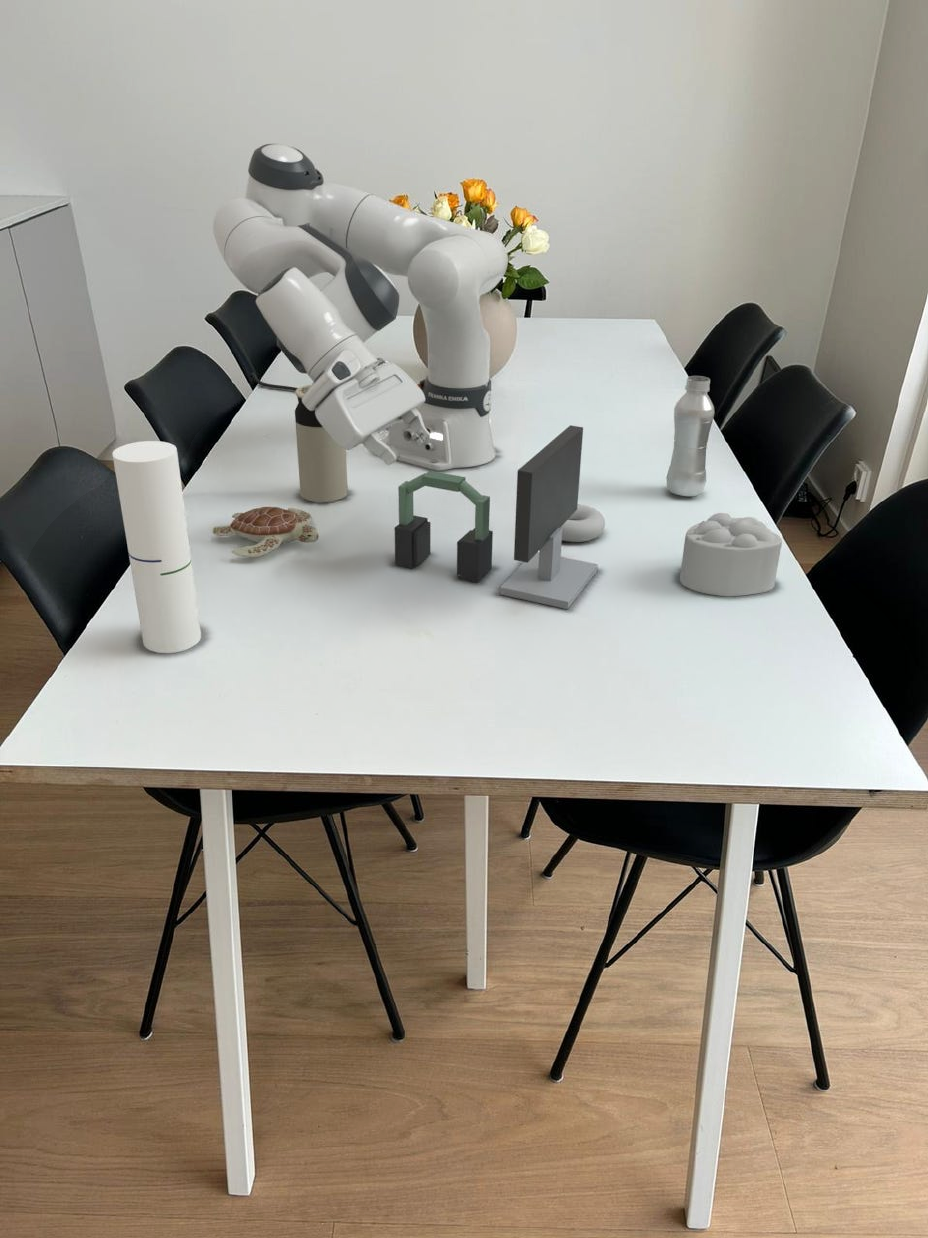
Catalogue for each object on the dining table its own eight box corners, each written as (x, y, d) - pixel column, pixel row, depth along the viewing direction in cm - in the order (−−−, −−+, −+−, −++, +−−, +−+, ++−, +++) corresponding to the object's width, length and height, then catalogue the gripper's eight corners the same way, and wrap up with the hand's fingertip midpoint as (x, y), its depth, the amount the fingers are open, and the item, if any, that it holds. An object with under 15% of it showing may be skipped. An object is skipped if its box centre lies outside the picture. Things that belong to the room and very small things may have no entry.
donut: (596, 550, 154) (610, 524, 162) (598, 529, 152) (612, 504, 161) (533, 540, 157) (549, 515, 165) (534, 520, 155) (551, 496, 163)
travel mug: (310, 507, 167) (303, 400, 158) (294, 490, 173) (286, 386, 164) (355, 499, 170) (350, 393, 161) (337, 483, 176) (332, 381, 168)
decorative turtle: (289, 572, 146) (287, 540, 143) (190, 553, 151) (186, 522, 148) (345, 525, 161) (344, 495, 158) (253, 509, 166) (251, 480, 163)
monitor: (489, 605, 138) (493, 466, 128) (541, 549, 154) (548, 421, 144) (558, 620, 134) (568, 479, 125) (604, 561, 150) (616, 432, 141)
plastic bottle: (704, 502, 171) (720, 385, 161) (663, 498, 172) (677, 382, 163) (704, 488, 177) (719, 374, 167) (664, 485, 178) (678, 372, 168)
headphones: (395, 564, 148) (393, 474, 142) (411, 551, 153) (410, 463, 146) (477, 582, 144) (479, 490, 137) (491, 568, 148) (494, 478, 141)
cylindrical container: (148, 625, 132) (119, 441, 120) (204, 624, 132) (181, 440, 120) (138, 654, 125) (106, 462, 113) (196, 652, 126) (171, 461, 114)
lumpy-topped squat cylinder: (782, 590, 143) (792, 534, 139) (697, 600, 140) (705, 543, 136) (747, 559, 152) (755, 506, 147) (666, 568, 149) (673, 513, 145)
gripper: (370, 368, 151) (429, 441, 152) (294, 405, 134) (361, 486, 136) (396, 341, 147) (456, 416, 148) (321, 376, 131) (389, 460, 132)
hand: (410, 450), depth 142 cm, fingers open, 8 cm apart
